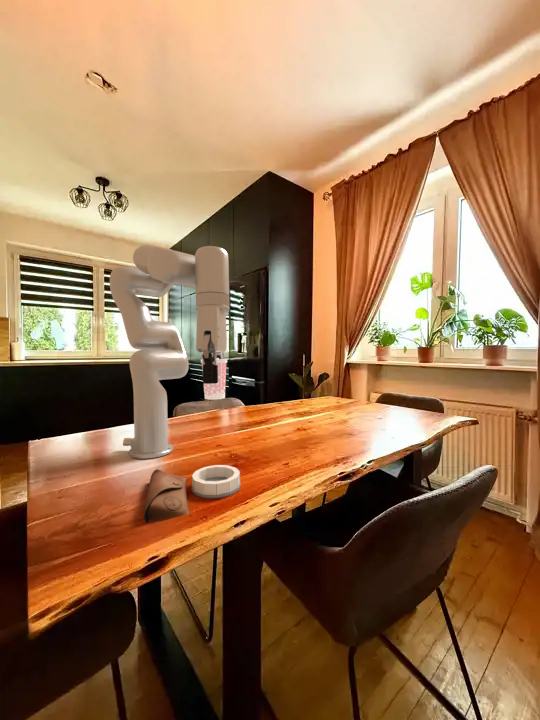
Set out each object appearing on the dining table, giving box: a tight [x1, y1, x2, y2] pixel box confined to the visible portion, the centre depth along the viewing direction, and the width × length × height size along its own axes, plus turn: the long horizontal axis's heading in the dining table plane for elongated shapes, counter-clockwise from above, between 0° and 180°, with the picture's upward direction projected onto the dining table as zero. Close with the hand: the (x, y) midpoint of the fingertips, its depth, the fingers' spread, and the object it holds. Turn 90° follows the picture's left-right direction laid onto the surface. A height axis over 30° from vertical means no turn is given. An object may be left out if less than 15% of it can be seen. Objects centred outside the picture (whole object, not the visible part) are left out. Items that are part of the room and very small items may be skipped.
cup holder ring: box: [191, 464, 241, 499], centre depth 68 cm, size 11×11×3 cm
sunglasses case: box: [143, 468, 191, 524], centre depth 64 cm, size 18×7×7 cm
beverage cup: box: [200, 358, 228, 400], centre depth 69 cm, size 6×6×14 cm
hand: (214, 381), depth 69 cm, fingers closed on beverage cup, 6 cm apart
